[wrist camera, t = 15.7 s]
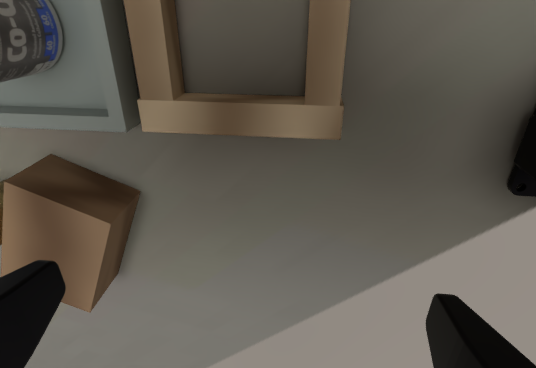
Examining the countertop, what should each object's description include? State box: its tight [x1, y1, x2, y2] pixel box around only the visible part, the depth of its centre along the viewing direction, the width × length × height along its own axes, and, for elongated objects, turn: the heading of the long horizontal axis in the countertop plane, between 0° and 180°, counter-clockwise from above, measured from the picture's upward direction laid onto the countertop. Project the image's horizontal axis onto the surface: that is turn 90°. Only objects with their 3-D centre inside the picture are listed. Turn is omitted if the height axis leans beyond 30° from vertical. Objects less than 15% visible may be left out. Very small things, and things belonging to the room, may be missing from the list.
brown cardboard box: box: [1, 154, 140, 312], centre depth 22 cm, size 6×8×4 cm
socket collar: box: [124, 0, 351, 140], centre depth 16 cm, size 10×10×2 cm
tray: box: [0, 0, 141, 132], centre depth 17 cm, size 11×10×2 cm
